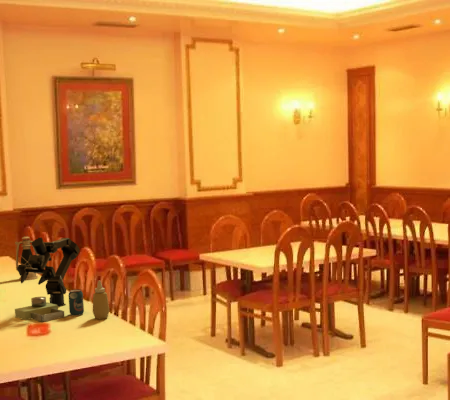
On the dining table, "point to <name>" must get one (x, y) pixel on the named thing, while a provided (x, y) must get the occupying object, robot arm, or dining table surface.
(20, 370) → the dining table surface
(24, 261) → the lantern
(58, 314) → the wooden square frame
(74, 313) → the soda can
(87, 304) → the dining table surface
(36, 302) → the pale green block
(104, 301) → the squeeze bottle
